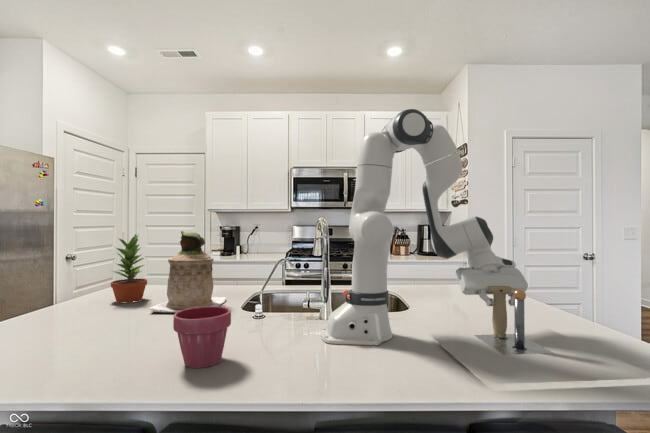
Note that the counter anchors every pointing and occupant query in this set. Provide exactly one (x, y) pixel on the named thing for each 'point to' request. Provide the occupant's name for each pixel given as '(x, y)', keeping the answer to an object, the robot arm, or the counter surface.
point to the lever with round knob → (519, 318)
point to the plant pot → (202, 334)
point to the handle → (499, 309)
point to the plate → (512, 345)
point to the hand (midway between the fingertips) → (502, 305)
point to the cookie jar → (189, 278)
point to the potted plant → (129, 274)
